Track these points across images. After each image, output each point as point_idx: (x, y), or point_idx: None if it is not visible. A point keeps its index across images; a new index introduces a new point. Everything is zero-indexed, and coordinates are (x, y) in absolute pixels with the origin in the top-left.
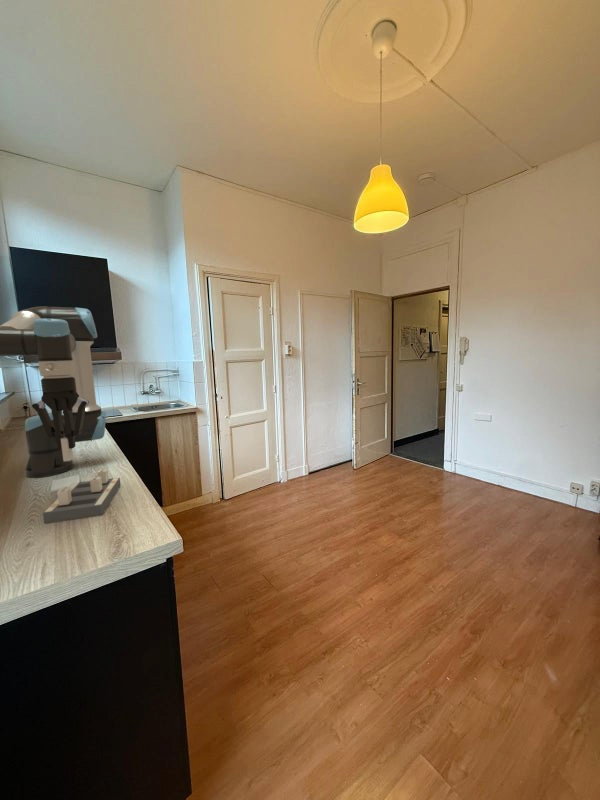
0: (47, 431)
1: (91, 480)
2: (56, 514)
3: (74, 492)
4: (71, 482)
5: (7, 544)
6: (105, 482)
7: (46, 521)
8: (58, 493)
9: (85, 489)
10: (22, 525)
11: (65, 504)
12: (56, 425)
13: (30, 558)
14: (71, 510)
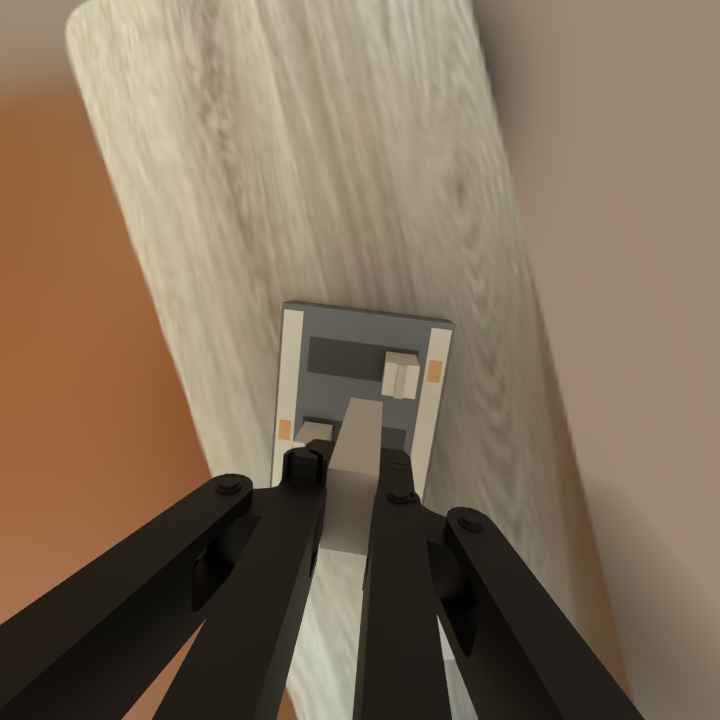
0: (504, 556)
1: None
2: (416, 318)
3: None
4: None
5: (518, 220)
6: None
7: (443, 320)
8: (415, 365)
9: None
10: (508, 338)
11: (395, 352)
12: (406, 599)
13: (434, 92)
14: (372, 313)
